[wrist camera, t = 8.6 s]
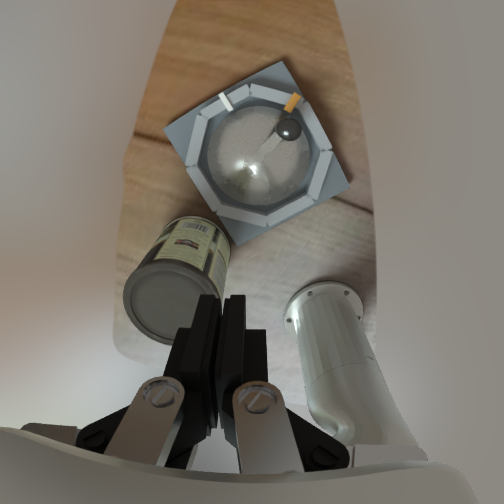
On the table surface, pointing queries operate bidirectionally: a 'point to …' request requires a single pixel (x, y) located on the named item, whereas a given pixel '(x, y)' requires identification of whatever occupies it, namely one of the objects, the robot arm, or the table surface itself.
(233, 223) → the panel
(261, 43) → the table surface
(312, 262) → the table surface
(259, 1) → the table surface
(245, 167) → the dial
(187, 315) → the coffee can
